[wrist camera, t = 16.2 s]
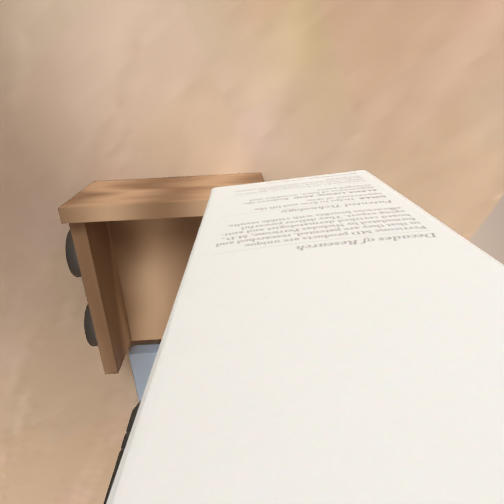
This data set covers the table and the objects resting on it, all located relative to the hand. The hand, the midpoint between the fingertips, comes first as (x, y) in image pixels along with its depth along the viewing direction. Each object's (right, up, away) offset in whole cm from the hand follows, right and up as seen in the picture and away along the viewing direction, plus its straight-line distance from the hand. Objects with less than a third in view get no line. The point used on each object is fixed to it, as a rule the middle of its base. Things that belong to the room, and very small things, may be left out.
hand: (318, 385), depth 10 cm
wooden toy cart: (-7, +2, +25) cm, 26 cm away
